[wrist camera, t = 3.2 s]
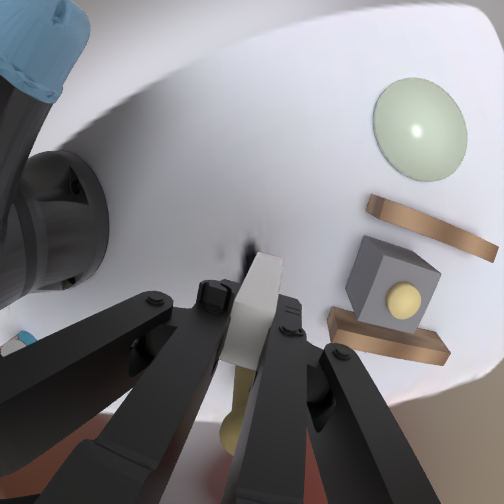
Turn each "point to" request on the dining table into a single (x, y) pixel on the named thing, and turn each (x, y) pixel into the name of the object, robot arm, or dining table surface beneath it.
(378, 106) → the saucer
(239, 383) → the cork
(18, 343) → the cup
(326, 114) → the dining table surface
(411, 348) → the guide channel
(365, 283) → the plug
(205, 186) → the dining table surface
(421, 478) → the robot arm
